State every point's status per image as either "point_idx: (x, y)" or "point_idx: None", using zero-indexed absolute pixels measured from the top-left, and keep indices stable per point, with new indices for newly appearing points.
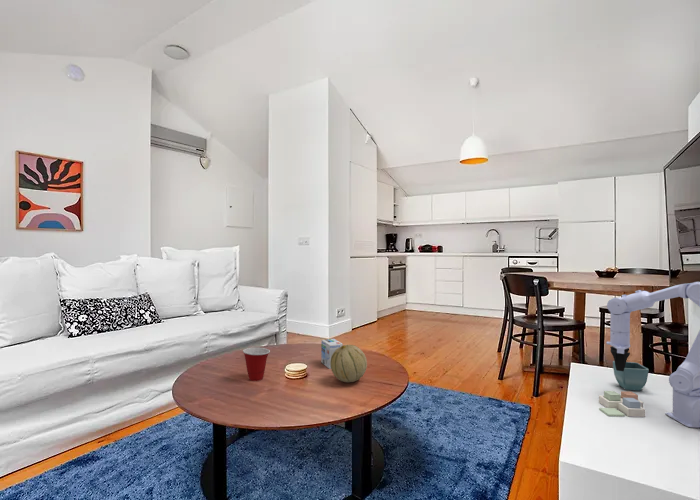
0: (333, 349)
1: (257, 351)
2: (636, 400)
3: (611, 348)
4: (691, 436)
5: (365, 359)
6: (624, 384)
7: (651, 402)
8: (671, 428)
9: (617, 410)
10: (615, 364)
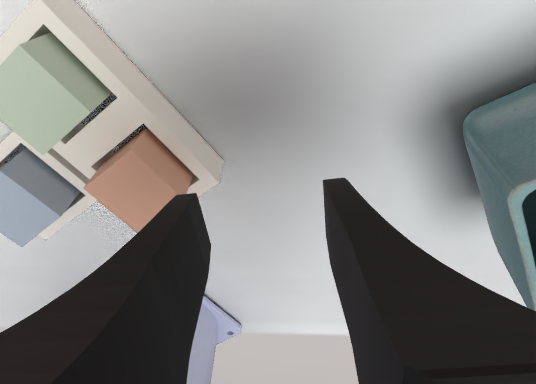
0: None
1: None
2: (27, 231)
3: (403, 377)
4: (17, 322)
5: None
6: (464, 125)
7: (306, 227)
8: (30, 284)
9: None
10: (136, 235)
